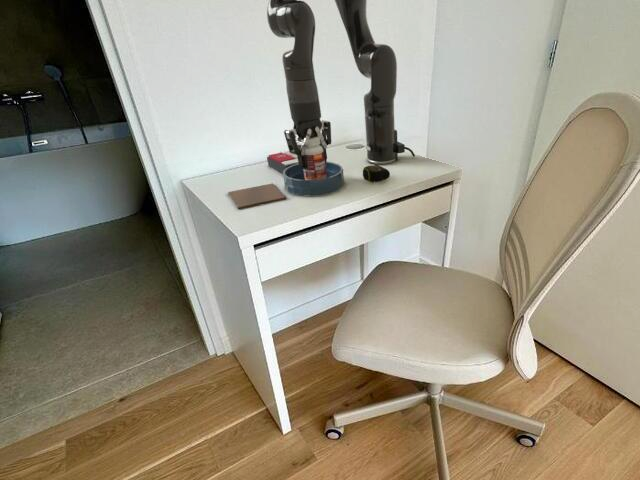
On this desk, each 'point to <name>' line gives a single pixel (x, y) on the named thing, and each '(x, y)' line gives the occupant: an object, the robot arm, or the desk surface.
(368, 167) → the tape measure
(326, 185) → the bowl
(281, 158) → the calculator
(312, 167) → the pill bottle
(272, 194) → the coaster
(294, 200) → the desk surface
